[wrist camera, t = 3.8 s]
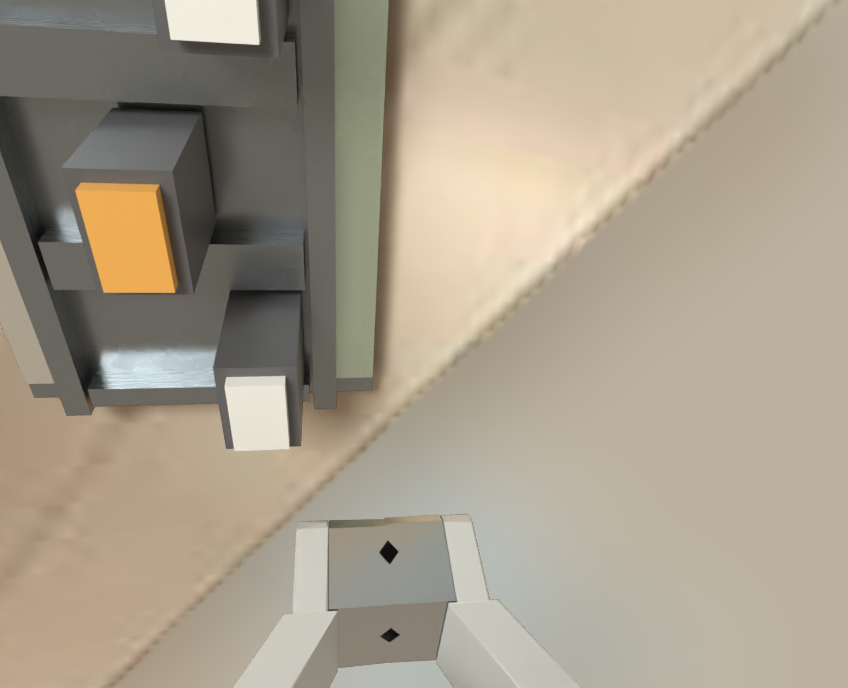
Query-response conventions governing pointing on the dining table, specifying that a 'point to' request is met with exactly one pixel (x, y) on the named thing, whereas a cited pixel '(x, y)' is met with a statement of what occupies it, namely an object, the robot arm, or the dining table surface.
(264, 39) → the breaker
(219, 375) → the breaker
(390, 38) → the dining table surface
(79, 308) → the panel
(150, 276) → the breaker mid
